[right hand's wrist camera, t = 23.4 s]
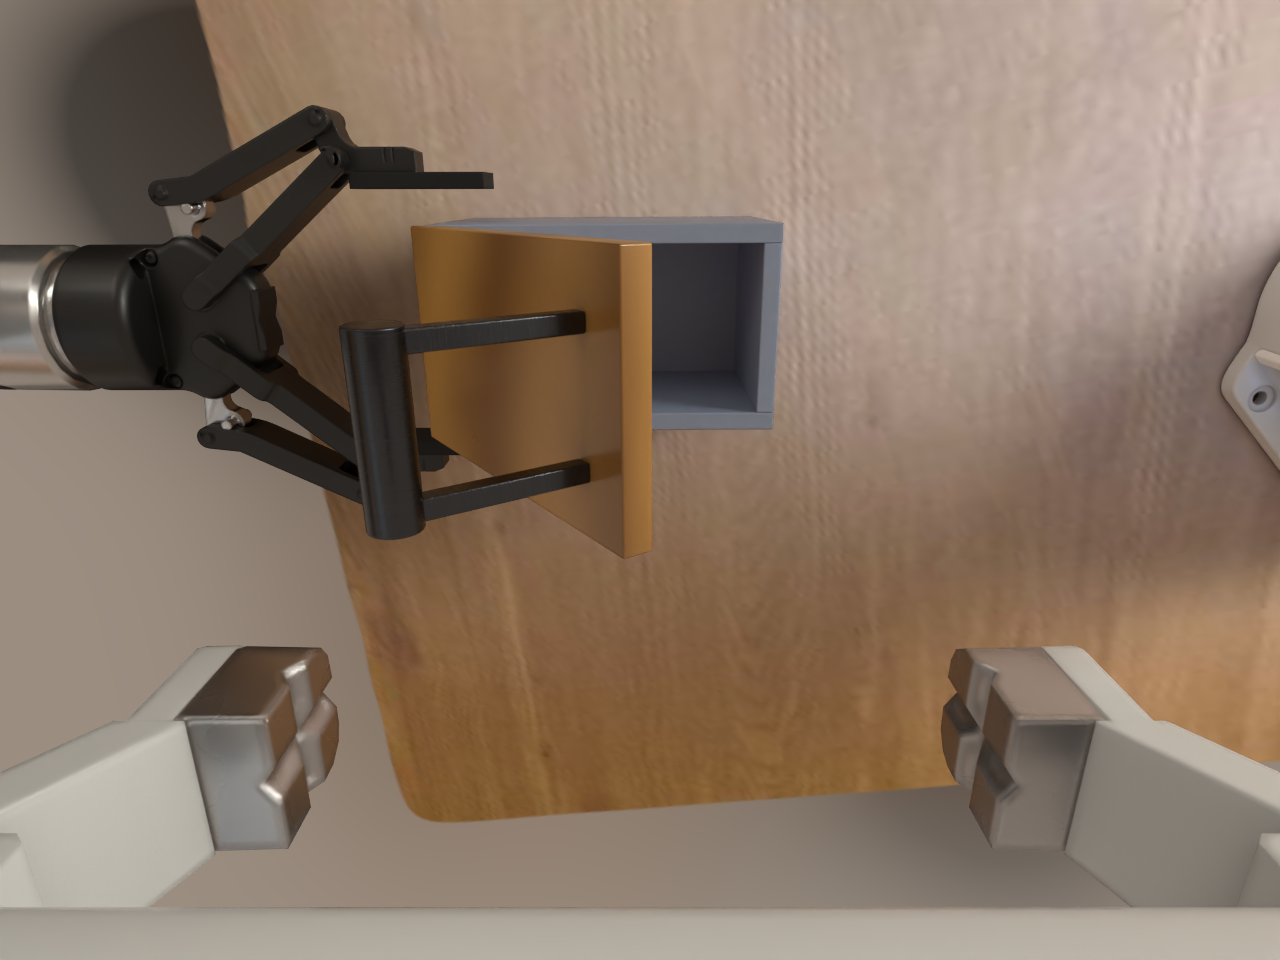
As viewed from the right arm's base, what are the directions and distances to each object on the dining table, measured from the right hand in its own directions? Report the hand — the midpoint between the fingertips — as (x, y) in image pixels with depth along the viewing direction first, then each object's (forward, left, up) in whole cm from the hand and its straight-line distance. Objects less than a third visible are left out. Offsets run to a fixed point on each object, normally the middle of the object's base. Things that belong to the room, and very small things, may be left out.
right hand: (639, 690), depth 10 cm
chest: (+1, +1, -40) cm, 40 cm away
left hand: (+4, +6, -33) cm, 34 cm away
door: (+2, +4, -22) cm, 22 cm away
